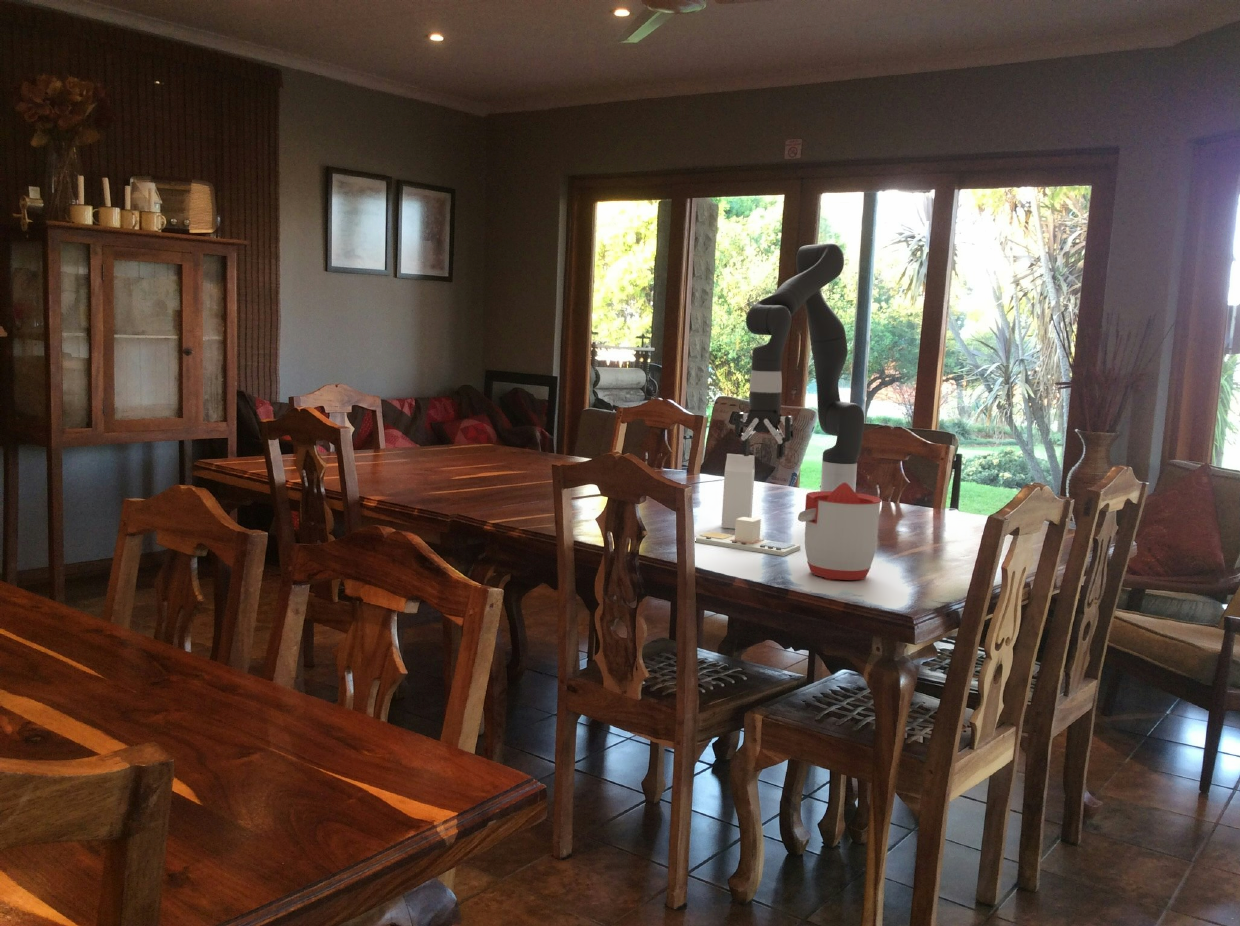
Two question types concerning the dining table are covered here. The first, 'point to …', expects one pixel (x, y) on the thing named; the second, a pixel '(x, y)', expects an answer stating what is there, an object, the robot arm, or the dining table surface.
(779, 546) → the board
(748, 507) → the milk carton
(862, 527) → the citrus juicer
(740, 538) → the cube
